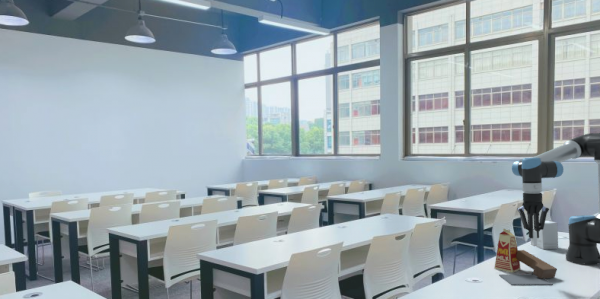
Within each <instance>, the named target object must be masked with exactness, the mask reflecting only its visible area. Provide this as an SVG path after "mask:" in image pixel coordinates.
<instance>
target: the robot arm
mask: <svg viewBox="0 0 600 299" xmlns="http://www.w3.org/2000/svg"><path fill="white" fill-rule="evenodd" d="M585 157H587V158H588V157H592V158H593V160H594V162H595V163H597V180H598V183H597V186H598V187H597V188H598V190H597V191H598V192H597V193H598V196H597V198H598V199H597V200H598V213H597V214H596V215H590V214H589V215H587V214H586V215H585V214H584V215H572V216H570V217H569V218H568V240H569V241H568V242H569V244H568V248H567V250H566V254H565V260H566V261H568V262H570V263H572V264H573V263H574V264H579V265H590V266H591V265H592V266H593V265H596V266H597V265H600V252H599V249H598V245H600V132H595V133H594V132H593V133H586V134H585V133H584V134H581V135H578V136H576V137H575V138H571V139H569V140H567V141H565V142H564V143H563V144H562V145H559V146H557V147H555V148H552V149H550V150H548V151H545V152H543V153H540V154H538V155H535V156H533V157H523V158H522V160H517V161H514V162H513V163H512V165H511V171H512V174H513V175H515V176H516V177H521V178H522V180H521V181H522V192H523V193H522V205H521V206H519V207H517V208H516V210H517V211H518V213H519V216H520V219H521V222H522V226H523V229H524V230H527V232H528V238H529V239H530V245H531V246H533V247H536V246H537V238H539V231H540V230H543V229H544V224H545V221H547V220H546V218H547V215H548V212H549V211H550V208H549V207H546V206H544V204H543V203H544V202H543V193H542V191H543V184H542V182H543V181H542V179H551V178H552V179H555V178H559V177H561V176H562V175H563V174H564V166H563V164H562V163H563V162H565V161H568V160H571V159H572V160H575V159H579V158H585ZM525 212H526V214H525ZM526 215H527V217H526Z"/></svg>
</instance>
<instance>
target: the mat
mask: <svg viewBox="0 0 600 299" xmlns="http://www.w3.org/2000/svg"><path fill="white" fill-rule="evenodd" d="M498 276H500V278H501V279H502V280H504V281H505V282H506V283H508V284H509V285H511V286H554V285H553V283H552V282H551V281H549V280H548V279H547V278H543V279H541V278H539V277H537V276H536V275H534V274H533V273H532V274H531V273H530V274H529V273H528V274H527V273H526V274H523V273H522V274H520V273H519V274H517V273H516V274H515V273H514V274H508V273H507V274H498Z"/></svg>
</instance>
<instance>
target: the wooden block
mask: <svg viewBox="0 0 600 299" xmlns="http://www.w3.org/2000/svg"><path fill="white" fill-rule="evenodd" d="M516 259H517V260H519V261H520V263H522V264H524V265H526V266H527V267H529V268H530V269H532V270H533V272H532V274H534V275H536V276H537V277H539V278H541V279H543V278H544V279H553V278H555V277H556V274H557V271H558V268H556V267H555V266H554V265H551V264H550V263H549V262H546V261H544V260H542V259H540V258H538V256H535V255H534V254H532V253H531V252H528V251H526V250H524V249H518V251H517V254H516Z"/></svg>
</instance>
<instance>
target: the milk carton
mask: <svg viewBox="0 0 600 299" xmlns="http://www.w3.org/2000/svg"><path fill="white" fill-rule="evenodd" d="M502 230H503V231H501V232H500V233H499V236H498V242H497V249H496V256H495V262H494V268H493V269H495V270H498V271H503V272H507V273H508V272H509V273H515V272H518V271H520V270H521V262H520V261H519V260H517V259H516V254H517V251H518V250H519V249H518V244H517V239H516V236H515V235H514V234H513V233H512V232H511V230H510V229H505V228H503V229H502Z"/></svg>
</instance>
